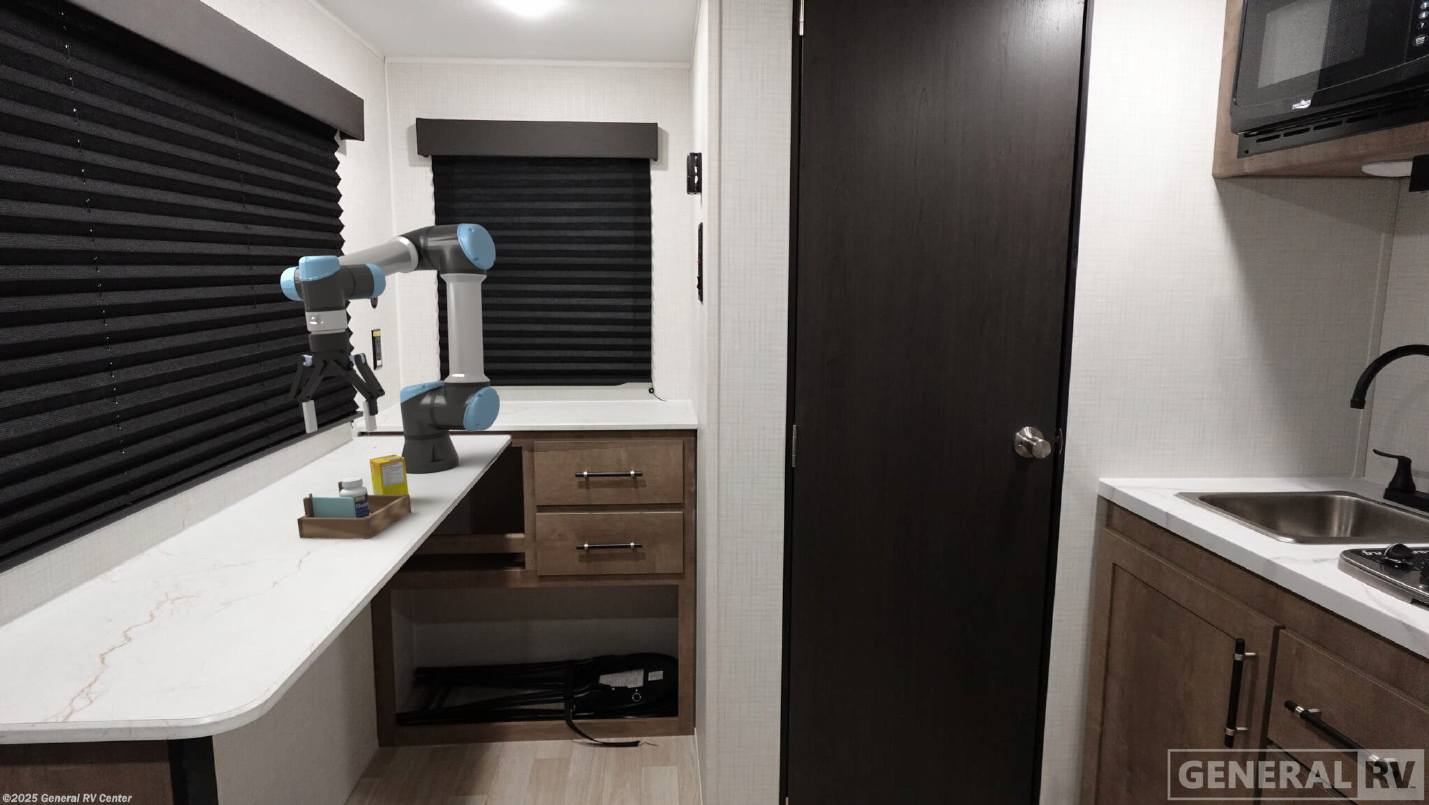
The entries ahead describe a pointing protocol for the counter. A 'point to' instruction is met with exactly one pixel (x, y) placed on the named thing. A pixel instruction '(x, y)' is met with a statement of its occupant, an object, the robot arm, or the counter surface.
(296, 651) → the counter surface
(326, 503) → the teal rectangular panel
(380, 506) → the wooden square frame
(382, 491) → the supplement box
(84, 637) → the counter surface
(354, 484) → the pill bottle
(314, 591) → the counter surface
